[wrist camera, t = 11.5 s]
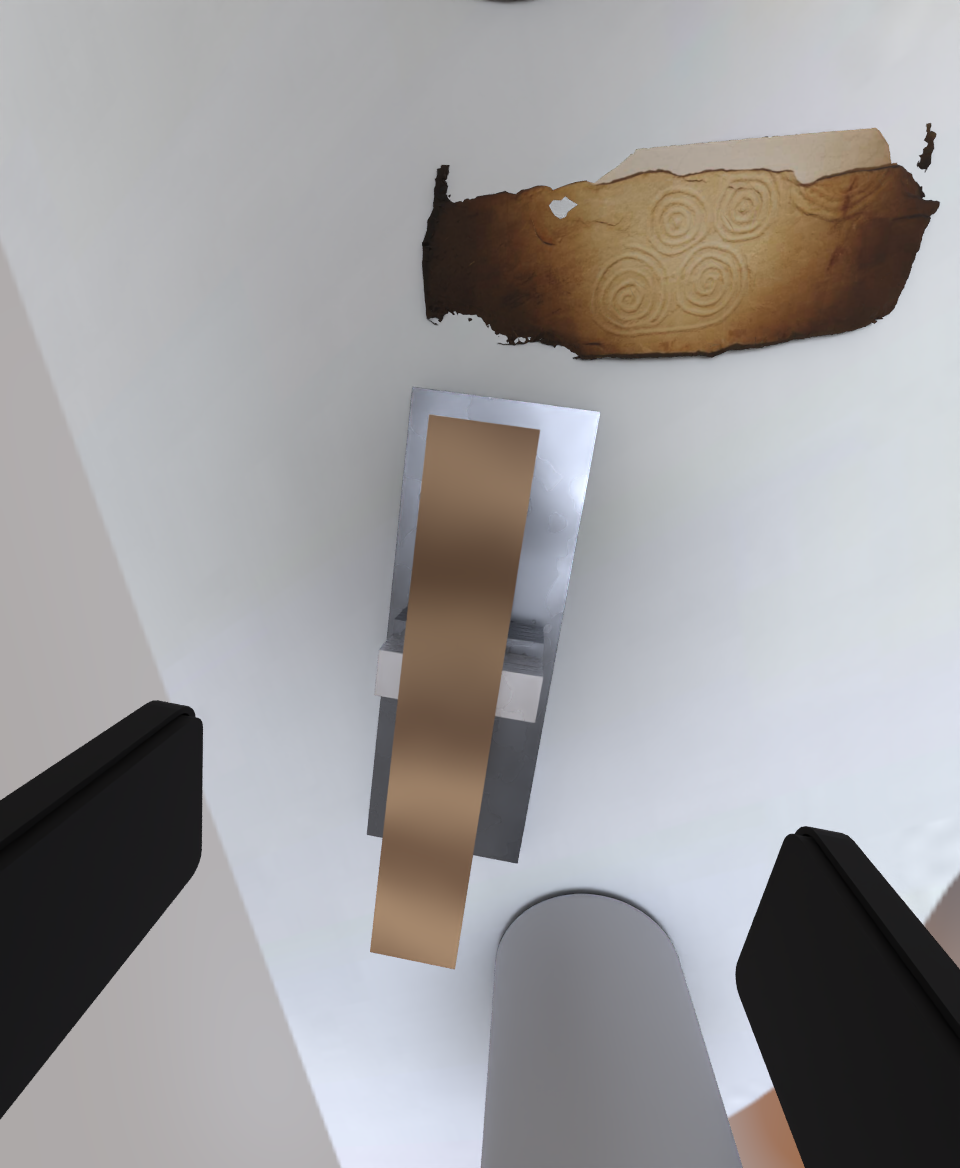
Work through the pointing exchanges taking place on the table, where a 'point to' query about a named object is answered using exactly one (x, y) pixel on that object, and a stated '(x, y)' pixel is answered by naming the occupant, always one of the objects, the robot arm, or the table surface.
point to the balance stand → (533, 607)
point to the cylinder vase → (597, 1047)
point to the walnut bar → (450, 679)
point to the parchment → (688, 248)
